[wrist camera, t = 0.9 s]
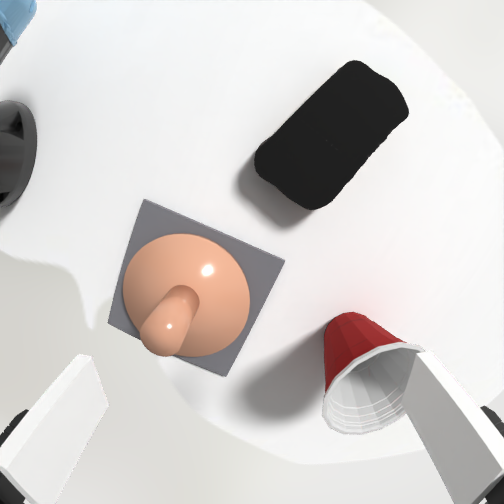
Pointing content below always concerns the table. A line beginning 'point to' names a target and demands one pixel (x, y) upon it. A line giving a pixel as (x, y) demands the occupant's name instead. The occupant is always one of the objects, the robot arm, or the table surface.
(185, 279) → the lid
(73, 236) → the table surface
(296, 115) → the black sponge
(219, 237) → the mat
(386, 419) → the plastic cup
